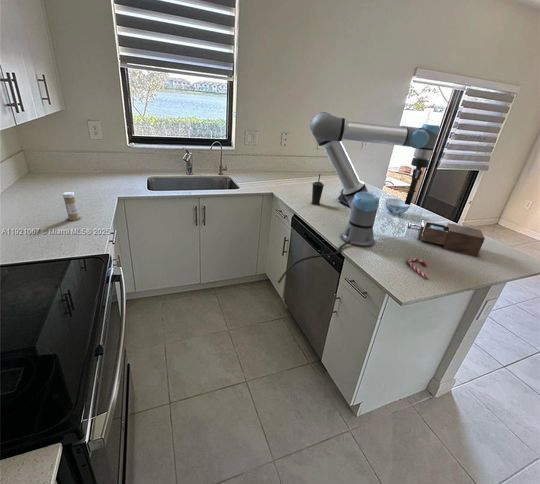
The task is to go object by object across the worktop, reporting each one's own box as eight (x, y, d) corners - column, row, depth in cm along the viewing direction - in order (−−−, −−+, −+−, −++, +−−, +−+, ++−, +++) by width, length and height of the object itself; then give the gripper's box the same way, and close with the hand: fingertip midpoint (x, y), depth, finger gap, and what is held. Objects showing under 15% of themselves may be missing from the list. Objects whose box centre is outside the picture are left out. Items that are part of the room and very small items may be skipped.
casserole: (333, 196, 210) (335, 185, 207) (358, 197, 211) (361, 186, 208) (342, 208, 188) (344, 195, 184) (370, 210, 189) (373, 197, 185)
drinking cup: (313, 201, 197) (317, 172, 188) (323, 204, 193) (328, 174, 184) (307, 203, 191) (311, 173, 183) (317, 206, 187) (322, 176, 179)
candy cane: (418, 275, 116) (405, 256, 130) (417, 277, 117) (404, 259, 131) (437, 277, 116) (422, 258, 130) (436, 279, 117) (421, 260, 130)
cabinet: (443, 248, 144) (449, 230, 140) (441, 239, 154) (447, 223, 149) (477, 256, 139) (485, 238, 134) (473, 246, 148) (480, 229, 144)
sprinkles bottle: (78, 216, 146) (72, 190, 141) (80, 219, 143) (74, 193, 138) (67, 218, 144) (61, 192, 138) (69, 221, 141) (62, 194, 135)
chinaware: (411, 219, 179) (414, 207, 176) (387, 217, 179) (390, 205, 175) (401, 210, 192) (404, 199, 189) (379, 208, 192) (382, 197, 189)
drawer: (405, 237, 151) (409, 223, 147) (405, 230, 159) (409, 217, 156) (446, 246, 144) (452, 232, 140) (445, 239, 152) (450, 225, 149)
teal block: (439, 241, 147) (443, 230, 144) (427, 238, 149) (430, 227, 146) (439, 238, 150) (443, 227, 148) (426, 235, 152) (430, 224, 150)
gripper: (430, 161, 132) (414, 209, 142) (429, 157, 143) (415, 202, 153) (412, 158, 135) (398, 205, 145) (413, 155, 146) (400, 199, 156)
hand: (407, 204), depth 149 cm, fingers closed
